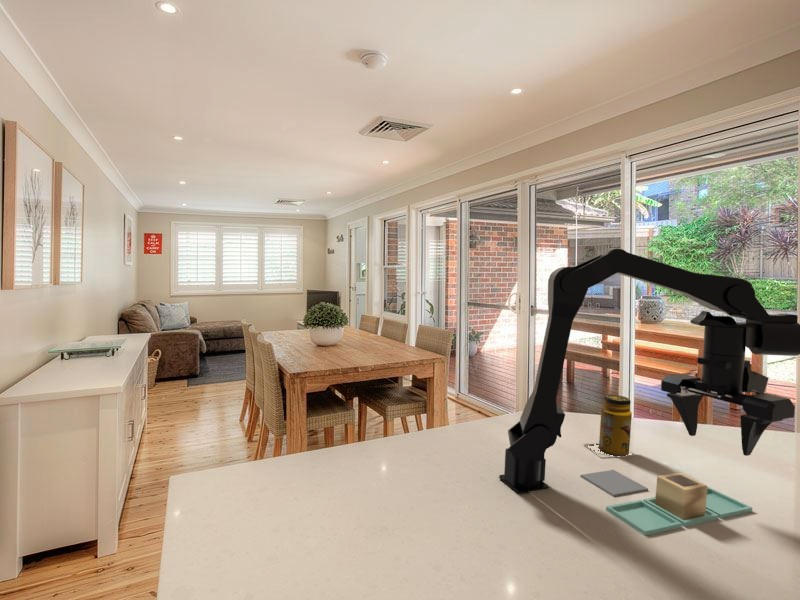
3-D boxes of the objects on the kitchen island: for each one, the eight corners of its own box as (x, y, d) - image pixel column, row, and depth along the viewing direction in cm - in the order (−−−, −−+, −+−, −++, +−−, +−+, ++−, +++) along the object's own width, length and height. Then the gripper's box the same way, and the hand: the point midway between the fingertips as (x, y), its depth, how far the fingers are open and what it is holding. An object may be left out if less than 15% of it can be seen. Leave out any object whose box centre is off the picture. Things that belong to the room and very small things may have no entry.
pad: (613, 498, 80) (613, 494, 80) (580, 477, 88) (580, 474, 88) (647, 491, 83) (648, 488, 83) (613, 472, 90) (613, 469, 90)
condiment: (638, 457, 99) (641, 401, 98) (600, 458, 97) (604, 402, 97) (617, 444, 106) (620, 392, 105) (582, 445, 105) (585, 392, 104)
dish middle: (683, 528, 71) (684, 522, 71) (643, 504, 78) (643, 499, 78) (718, 520, 74) (718, 515, 74) (675, 498, 81) (675, 493, 81)
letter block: (682, 520, 73) (684, 489, 72) (655, 505, 77) (657, 475, 77) (705, 515, 74) (707, 485, 74) (676, 500, 79) (679, 471, 79)
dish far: (720, 520, 74) (720, 514, 74) (677, 497, 81) (678, 492, 81) (751, 512, 77) (752, 507, 77) (708, 491, 84) (708, 486, 84)
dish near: (644, 537, 68) (645, 531, 68) (605, 511, 75) (606, 506, 75) (681, 528, 71) (682, 523, 71) (640, 504, 78) (641, 499, 78)
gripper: (820, 361, 71) (813, 460, 72) (703, 342, 89) (699, 422, 90) (773, 365, 67) (766, 470, 68) (660, 345, 85) (656, 428, 86)
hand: (718, 444), depth 78 cm, fingers open, 9 cm apart
